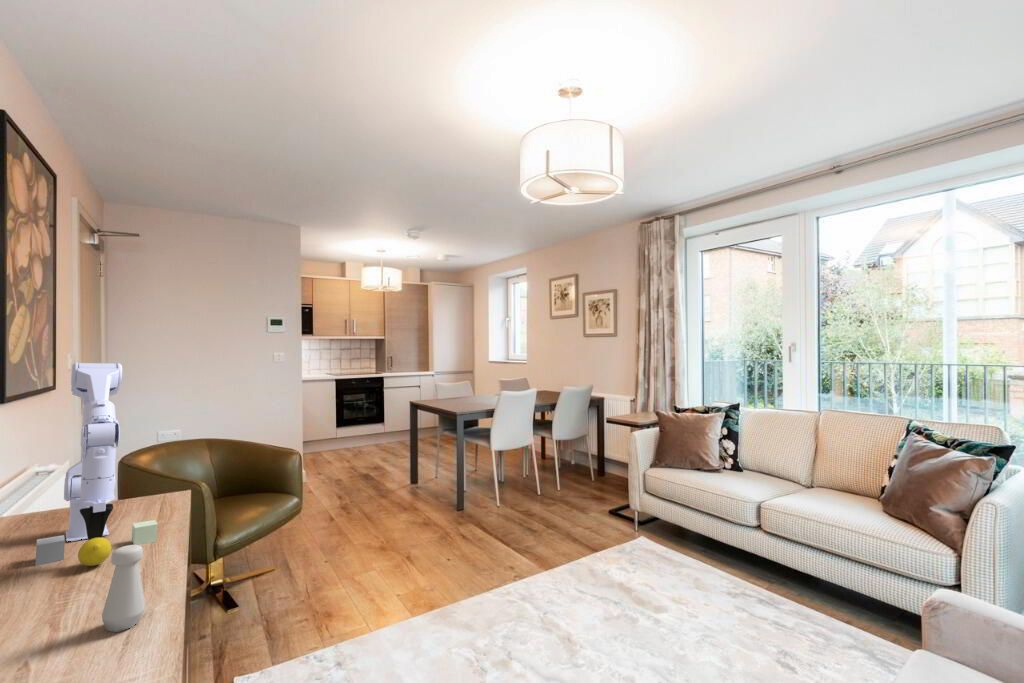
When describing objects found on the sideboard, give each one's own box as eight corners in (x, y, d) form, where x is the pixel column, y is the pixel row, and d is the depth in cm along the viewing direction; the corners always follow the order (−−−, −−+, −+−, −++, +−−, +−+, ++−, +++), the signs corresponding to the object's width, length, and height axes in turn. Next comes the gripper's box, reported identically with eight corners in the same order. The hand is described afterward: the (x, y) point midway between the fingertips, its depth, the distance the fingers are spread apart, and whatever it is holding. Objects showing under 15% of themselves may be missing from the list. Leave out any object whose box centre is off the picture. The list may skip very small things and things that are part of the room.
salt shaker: (96, 638, 78) (100, 556, 79) (106, 621, 83) (110, 544, 84) (141, 629, 81) (145, 550, 82) (147, 613, 86) (151, 539, 87)
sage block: (131, 541, 120) (132, 523, 120) (153, 537, 123) (154, 519, 124) (133, 547, 117) (134, 528, 117) (156, 542, 120) (157, 524, 120)
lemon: (88, 575, 106) (92, 566, 101) (70, 557, 105) (72, 547, 101) (115, 555, 110) (120, 545, 105) (97, 538, 110) (101, 527, 105)
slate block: (35, 560, 109) (36, 539, 109) (62, 554, 112) (64, 535, 112) (35, 566, 105) (36, 545, 105) (63, 560, 108) (64, 540, 109)
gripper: (72, 476, 111) (69, 537, 110) (75, 484, 100) (71, 552, 99) (112, 471, 116) (109, 530, 114) (119, 479, 105) (116, 544, 104)
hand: (94, 540), depth 107 cm, fingers closed, pressing on lemon
